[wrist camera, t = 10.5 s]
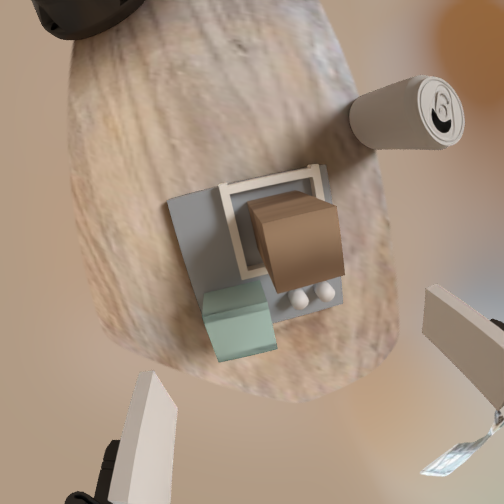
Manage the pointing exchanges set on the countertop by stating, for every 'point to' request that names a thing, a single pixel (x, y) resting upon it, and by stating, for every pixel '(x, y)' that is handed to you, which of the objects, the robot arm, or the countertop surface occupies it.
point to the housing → (238, 321)
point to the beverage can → (409, 115)
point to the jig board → (245, 240)
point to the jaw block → (297, 239)
